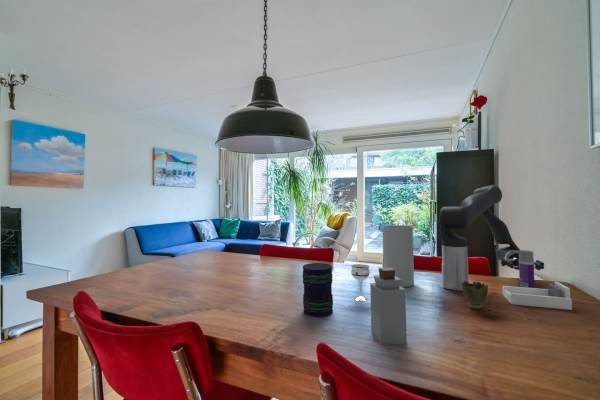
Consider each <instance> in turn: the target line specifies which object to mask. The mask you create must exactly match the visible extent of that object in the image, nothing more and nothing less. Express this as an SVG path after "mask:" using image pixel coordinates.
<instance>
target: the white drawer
mask: <svg viewBox="0 0 600 400" xmlns="http://www.w3.org/2000/svg"><path fill="white" fill-rule="evenodd" d="M553 285H554V286H556V287H557V288H559V289H561V294H562V297H552V296H548V288H537V287H535V288H525V287H520V286H509V285H502V296H503V297H504V298H505V300H507V301H508V303H510V304H511V305H514V306H515V305H517V306H527V307H536V308H547V309H557V310H558V309H559V310H560V309H561V310H570V311H573V300H572V299H573V298H571V289H570V288H569V287H568V286H566V285H565V284H562V283H561V282H559V281H554V284H553Z"/></svg>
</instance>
